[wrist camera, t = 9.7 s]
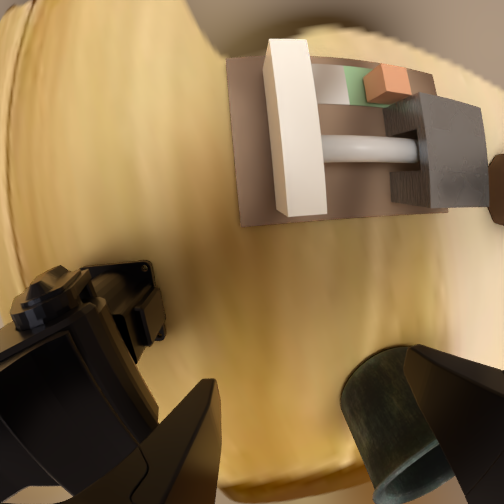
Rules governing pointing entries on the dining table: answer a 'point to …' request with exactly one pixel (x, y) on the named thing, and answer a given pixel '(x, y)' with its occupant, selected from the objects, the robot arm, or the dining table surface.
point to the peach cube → (387, 84)
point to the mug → (392, 431)
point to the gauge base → (331, 123)
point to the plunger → (311, 133)
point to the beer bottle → (496, 189)
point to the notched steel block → (440, 152)
